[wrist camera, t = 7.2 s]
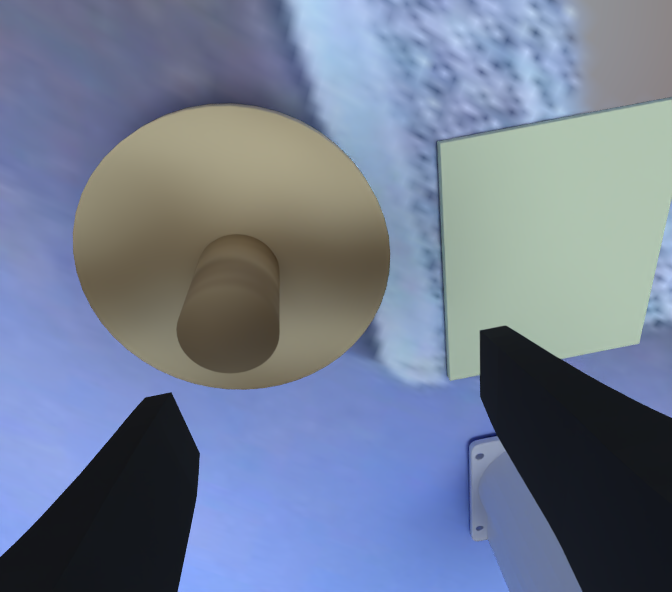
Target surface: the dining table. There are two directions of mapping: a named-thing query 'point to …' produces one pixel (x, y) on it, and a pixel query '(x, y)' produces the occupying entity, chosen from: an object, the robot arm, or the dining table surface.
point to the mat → (554, 230)
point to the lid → (231, 247)
